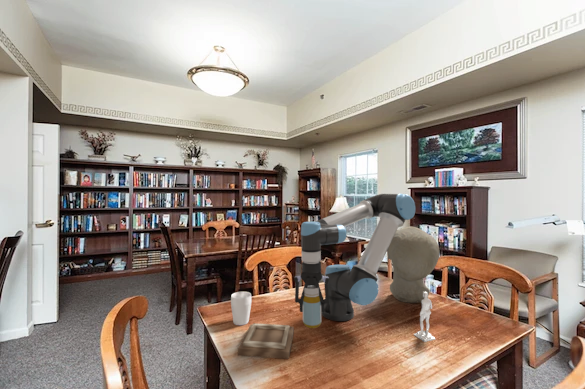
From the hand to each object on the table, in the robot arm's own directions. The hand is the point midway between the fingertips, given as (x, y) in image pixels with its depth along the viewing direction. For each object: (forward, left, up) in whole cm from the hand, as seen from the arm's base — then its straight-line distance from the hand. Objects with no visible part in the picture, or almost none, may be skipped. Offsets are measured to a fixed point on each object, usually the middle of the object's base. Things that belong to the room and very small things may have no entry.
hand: (312, 319), depth 109 cm
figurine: (-45, -7, -7) cm, 46 cm away
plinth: (+17, +5, -7) cm, 19 cm away
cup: (+32, -11, -8) cm, 34 cm away
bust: (-51, -42, -7) cm, 67 cm away
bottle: (0, 0, -2) cm, 2 cm away
